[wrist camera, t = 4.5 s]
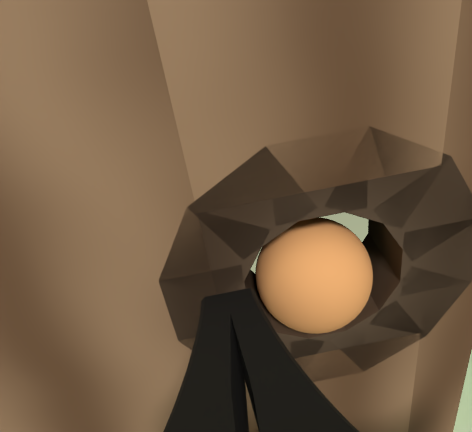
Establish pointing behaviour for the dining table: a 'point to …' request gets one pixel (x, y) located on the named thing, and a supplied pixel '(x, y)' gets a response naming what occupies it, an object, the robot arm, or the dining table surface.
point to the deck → (228, 197)
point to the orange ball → (314, 276)
